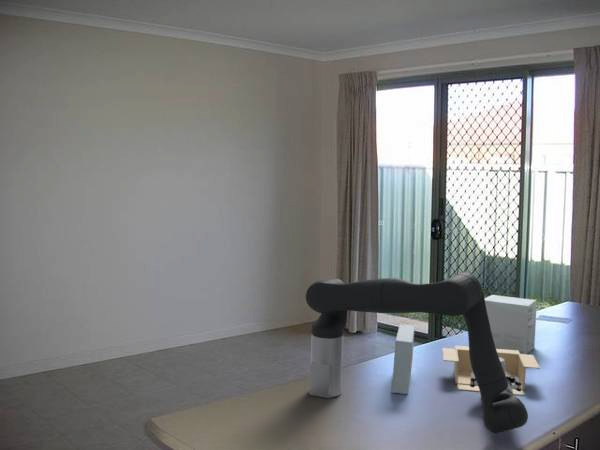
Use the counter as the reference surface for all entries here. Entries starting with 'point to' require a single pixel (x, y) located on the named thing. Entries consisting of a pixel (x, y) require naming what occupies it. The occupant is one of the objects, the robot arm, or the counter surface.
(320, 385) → the robot arm
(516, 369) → the carton
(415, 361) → the counter surface
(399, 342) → the skincare box
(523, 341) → the supplement box
